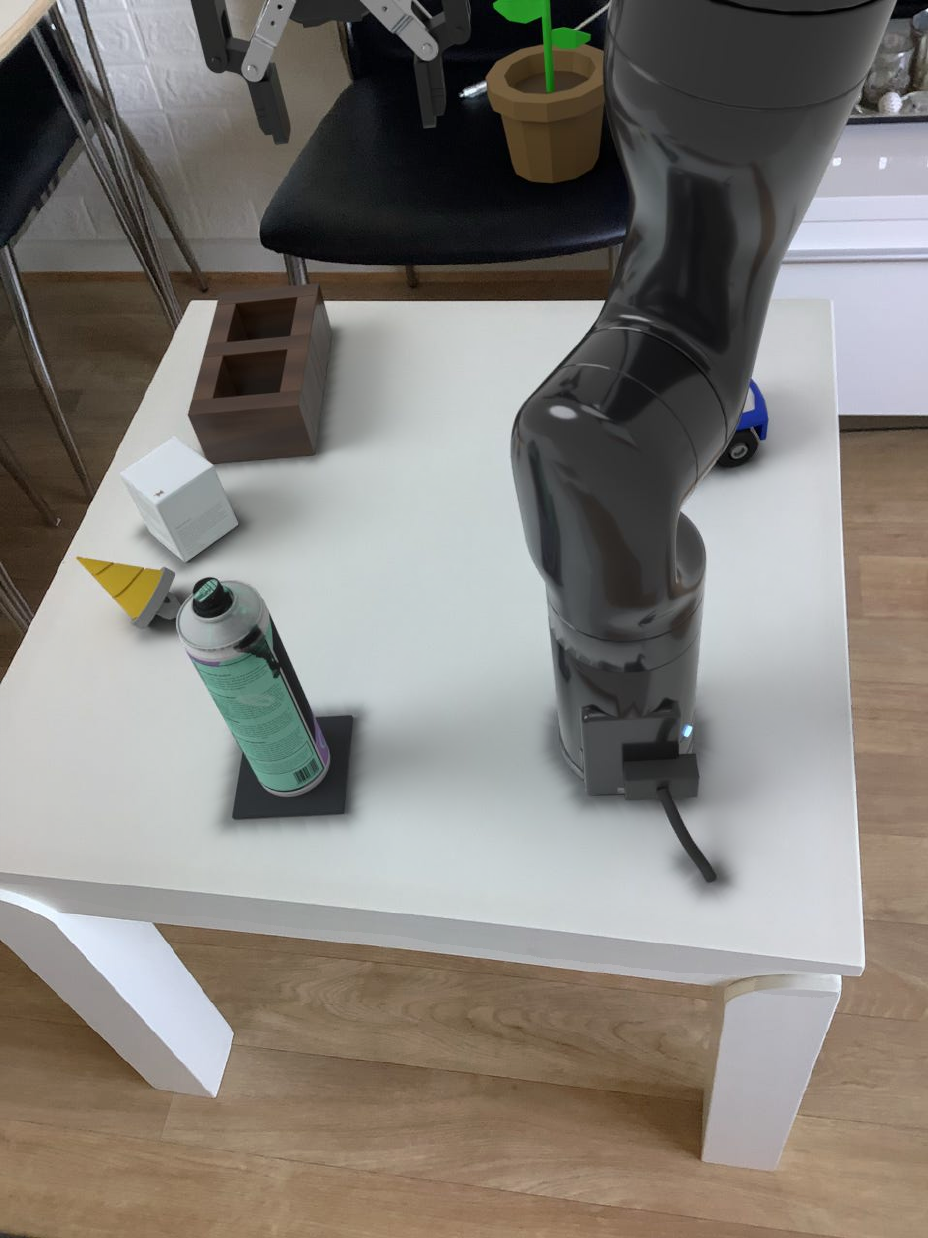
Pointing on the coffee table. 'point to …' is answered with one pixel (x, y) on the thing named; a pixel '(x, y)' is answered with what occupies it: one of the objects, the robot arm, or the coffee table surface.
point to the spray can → (253, 684)
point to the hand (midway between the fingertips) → (356, 129)
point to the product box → (180, 498)
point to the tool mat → (317, 801)
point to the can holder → (262, 375)
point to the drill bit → (136, 589)
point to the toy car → (747, 429)
